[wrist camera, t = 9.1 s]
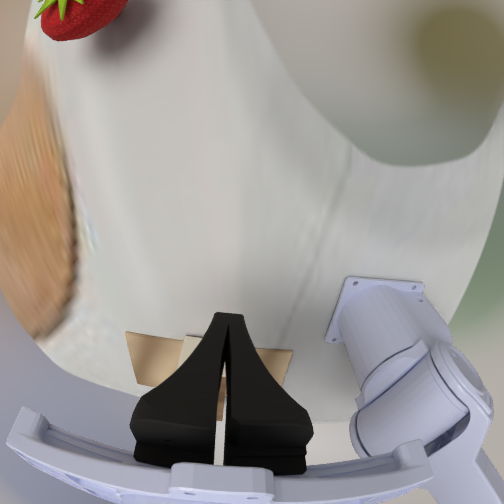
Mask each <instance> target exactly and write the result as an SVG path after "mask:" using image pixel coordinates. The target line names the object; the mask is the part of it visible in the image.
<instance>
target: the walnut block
mask: <svg viewBox="0 0 504 504" xmlns="http://www.w3.org/2000/svg"><path fill="white" fill-rule="evenodd" d="M201 340H202V338H198V337H190V336H185V338H184V342H183V346H182V350H181V354H180V358H179V362H178V367H177V369H178V368H179V367H180V366H181V365H182V364H183V363H184V362H185V361H186V359H187V358H188V357H189V356H190V355H191V353H192V352H193V351H194V349H195V348H196V347H197V345H198V344H199V343H200V341H201ZM225 389H226V372H225V363H224V369H223V374H222V380H221V386H220V391H219V397H218V405H217V421H222V418H223V408H224V398H225Z"/></svg>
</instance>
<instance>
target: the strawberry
mask: <svg viewBox="0 0 504 504" xmlns="http://www.w3.org/2000/svg"><path fill="white" fill-rule="evenodd" d="M41 1H43V0H39V1H38V2H41ZM127 1H128V0H45V2H44V4H43V5H42V7H41V8H40V10H39V11H38V13H37V15H36V16H35V19H36V18H37V17H38V16H39V15H40V14H42V15H41V28H42V30H43V32H44V33H45V34H46V35H48V36H49V37H50V38H52V39H53V40H56V41H67V40H75V39H81V38H84V37H87V36H89V35H91V34H93V33H94V32H96V31H98V30H100V29H101V28H103V27H105V26H106V25H108V24H109V23H110V22H112V21H113V20H114V19H116V18H117V17H118V16H119V15H120V13H121V11H122V10H123V8H124V7H125V5H126V3H127Z"/></svg>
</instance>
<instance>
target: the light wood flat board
mask: <svg viewBox="0 0 504 504" xmlns="http://www.w3.org/2000/svg"><path fill="white" fill-rule="evenodd" d="M125 336H126V340H127V345H128V349H129V353H130V357H131V361H132V365H133V369H134V373H135V376H136V380H137V383H138V384H141V385H146V386H151V387H157V386H158V385H159V384H161V383H162V382H163V381H164V380H166V379H167V378H168V377H169V376H171V375H172V374H173V373H174V372H175V371H176V370H177V367H178V362H179V358H180V354H181V350H182V346H183V342H184V341H181V340H174V339H168V338H161V337H155V336H149V335H143V334H138V333H132V332H127V331H126V333H125ZM255 349H256V351H257V353H258V355H259V356H260V358H261V360H262V362H263V363H264V365H265V366H266V368H267V369H268V371H269V372H270V374H271V375H272V376H273V378H274V379H275V380H276V381H277V382H278V384H279V385H280V386H282V383H283V380H284V377H285V374H286V371H287V368H288V365H289V362H290V359H291V356H292V350H275V349H259V348H255ZM225 397H227V395H226V389H225Z"/></svg>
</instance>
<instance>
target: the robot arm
mask: <svg viewBox="0 0 504 504" xmlns="http://www.w3.org/2000/svg"><path fill="white" fill-rule="evenodd" d="M355 281H357V282H356V283H355V284H353V283H354V282H355ZM413 286H414V287H413ZM412 287H413V288H412ZM424 288H425V285H424V284H423V283H422V282H411V281H398V280H386V279H374V278H362V277H348V278H346V280H345V282H344V285H343V288H342V291H341V294H340V297H339V300H338V303H337V306H336V309H335V311H334V314H333V317H332V320H331V322H330V325H329V328H328V331H327V333H326V336H325V341H326V342H327V343H344V345H345V347H346V350H347V353H348V356H349V358H350V361H351V364H352V367H353V370H354V373H355V376H356V378H357V381H358V384H359V387H360V390H361V394H360V395H359V396H358V397H357V398H356V399H355V400H356V403H357V406H358V409H359V410H358V411H357V412H355V413H354V415H353V416H352V418H351V420H350V425H349V431H350V438H351V442H352V445H353V448H354V450H355V451H356V453H357V454H358V456H359V457H360V458H361V459H356V460H350V461H343V462H337V463H329V464H320V465H310V466H306V460H305V455H306V454H307V451H306V445H307V444H308V442H309V441H310V439H311V438H312V437H313V434H314V432H313V426H312V423H311V420H310V417H309V415H308V412H307V410H305V409H304V408H303V407H302V406H300V405H299V404H298V403H297V402H296V401H295V400H294V399H293V398H291V397H290V396H289V395H288V394H287V393H286V392H285V390H284V389H283V388H282V387H281V386H280V385H279V384H278V382H277V381H276V380H275V379H274V378H273V376H272V375H271V374H270V372H269V371H268V369H267V368H266V366H265V365H264V363H263V362H262V360H261V358H260V356H259V355H258V353H257V351H256V349H255V347H254V345H253V343H252V340H251V338H250V336H249V333H248V330H247V328H246V324H245V320H244V316H243V315H242V314H232V313H222V312H216V313H215V314H214V317H213V319H212V322H211V324H210V326H209V328H208V330H207V331H206V333H205V335H204V336H203V338H202V340H201V341H200V343H199V344H198V345H197V347H196V348H195V349H194V351H193V352H192V353H191V355H190V356H189V357H188V358H187V359H186V361H185V362H184V363H183V364H182V365H181V366H180V367H179V368H178V369H177V370H176V371H175V372H174V373H173V374H172V375H171V376H169V377H168V378H167V379H166V380H164V381H163V382H162V383H161V384H159V385H158V386H157V387H155V388H154V389H152V390H151V391H149V392H148V393H146V394H145V395H143V396H142V397H141V398H140V400H139V402H138V403H137V405H136V407H135V410H134V412H133V414H132V418H131V422H130V429H131V431H132V433H133V435H134V437H135V439H136V441H137V442H136V446H135V451H134V452H131V451H127V450H124V449H120V448H116V447H113V446H109V445H106V444H103V443H100V442H97V441H94V440H91V439H87V438H85V437H82V436H79V435H76V434H74V433H71V432H69V431H66V430H64V429H61V428H59V427H57V426H54V425H52V424H50V423H49V421H48V420H47V419H46V418H45V417H44V416H43V415H42V414H40V413H38V412H36V411H34V410H32V409H30V408H28V407H26V406H22V408H21V410H20V412H19V415H18V417H17V418H16V421H15V423H14V425H13V427H12V429H11V431H10V434H9V436H8V438H7V441H6V444H7V445H8V446H9V447H10V448H11V449H12V450H14V451H15V452H16V453H17V454H18V455H19V456H21V457H22V458H23V459H24V460H26V461H27V462H28V463H29V464H30V465H32V466H34V467H36V468H38V469H39V470H41V471H43V472H45V473H47V474H49V475H51V476H53V477H55V478H57V479H59V480H61V481H63V482H65V483H67V484H69V485H71V486H74V487H76V488H78V489H80V490H83V491H85V492H87V493H90V494H92V495H95V496H97V497H100V498H103V499H106V500H108V501H111V502H114V503H117V504H378V503H381V502H384V501H387V500H390V499H393V498H396V497H399V496H402V495H405V494H407V493H409V492H411V491H412V490H414V489H416V488H423V489H428V490H429V492H430V493H431V495H432V496H433V497H434V499H435V500H436V502H437V503H438V504H504V481H503V479H502V478H501V476H500V475H499V473H498V471H497V470H496V468H495V467H494V465H493V464H492V462H491V461H490V459H489V458H488V456H487V455H486V453H485V452H484V450H483V449H482V445H483V442H484V440H485V438H486V436H487V433H488V431H489V428H490V426H491V424H492V420H493V416H494V409H493V400H492V397H491V395H490V394H489V392H488V391H487V389H486V388H485V386H484V385H483V383H482V380H481V378H480V377H479V375H478V373H477V372H476V370H475V369H474V367H473V366H472V364H471V363H470V362H469V360H468V359H467V358H466V357H465V356H464V355H463V354H462V353H461V352H460V351H459V350H458V349H457V348H456V347H455V346H454V345H453V343H452V336H451V332H450V330H449V327H448V326H447V324H446V323H445V321H444V320H443V319H442V317H441V316H440V315H439V313H438V312H437V311H436V310H435V308H434V307H433V306H432V305H431V303H430V302H429V301H428V300H427V298H426V297H425V296H424V295H423V290H424ZM334 338H335V339H334ZM224 363H225V372H226V395H227V406H226V424H225V443H224V461H223V466H221V465H214V450H215V434H216V420H217V405H218V397H219V391H220V386H221V380H222V374H223V369H224Z"/></svg>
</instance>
